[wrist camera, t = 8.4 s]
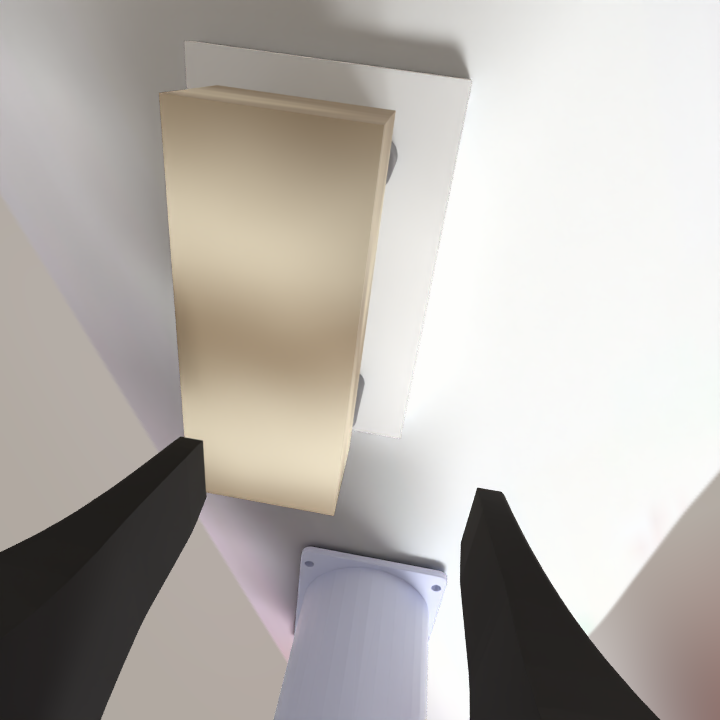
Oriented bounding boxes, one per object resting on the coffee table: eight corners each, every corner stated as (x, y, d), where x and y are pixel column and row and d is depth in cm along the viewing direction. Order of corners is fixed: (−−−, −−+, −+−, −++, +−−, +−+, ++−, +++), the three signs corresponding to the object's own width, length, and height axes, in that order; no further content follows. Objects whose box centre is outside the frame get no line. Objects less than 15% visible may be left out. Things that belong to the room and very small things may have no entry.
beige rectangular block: (349, 447, 20) (333, 515, 17) (224, 425, 21) (188, 488, 18) (396, 110, 14) (383, 125, 11) (217, 85, 14) (158, 93, 11)
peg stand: (401, 425, 24) (396, 478, 21) (210, 391, 24) (178, 439, 21) (470, 79, 17) (477, 84, 14) (196, 41, 17) (145, 38, 14)
